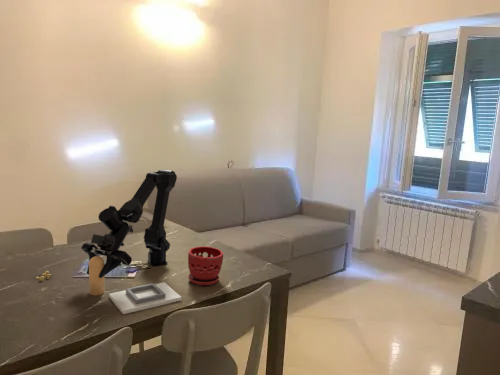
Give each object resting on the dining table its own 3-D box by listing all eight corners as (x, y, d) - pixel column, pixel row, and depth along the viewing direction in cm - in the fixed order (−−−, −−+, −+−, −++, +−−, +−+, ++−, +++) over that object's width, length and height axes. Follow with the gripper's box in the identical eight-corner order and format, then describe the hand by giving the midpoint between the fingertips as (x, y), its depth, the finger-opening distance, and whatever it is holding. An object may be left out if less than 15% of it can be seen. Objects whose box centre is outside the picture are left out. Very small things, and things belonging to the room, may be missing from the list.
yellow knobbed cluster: (47, 275, 155) (47, 270, 154) (54, 279, 152) (54, 274, 151) (34, 279, 151) (33, 274, 151) (40, 283, 148) (40, 278, 147)
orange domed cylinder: (102, 288, 145) (102, 253, 143) (106, 293, 141) (106, 257, 139) (87, 291, 142) (87, 255, 140) (91, 296, 138) (91, 260, 136)
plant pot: (194, 290, 148) (195, 258, 146) (182, 277, 159) (183, 247, 157) (227, 285, 154) (228, 254, 152) (213, 272, 165) (215, 244, 163)
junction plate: (164, 285, 150) (164, 278, 150) (181, 300, 139) (181, 292, 139) (109, 297, 139) (109, 289, 138) (123, 314, 128) (123, 306, 127)
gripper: (84, 220, 145) (59, 259, 137) (126, 229, 137) (102, 270, 129) (101, 236, 153) (78, 274, 145) (141, 245, 146) (119, 285, 138)
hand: (93, 275), depth 139 cm, fingers closed on orange domed cylinder, 5 cm apart
